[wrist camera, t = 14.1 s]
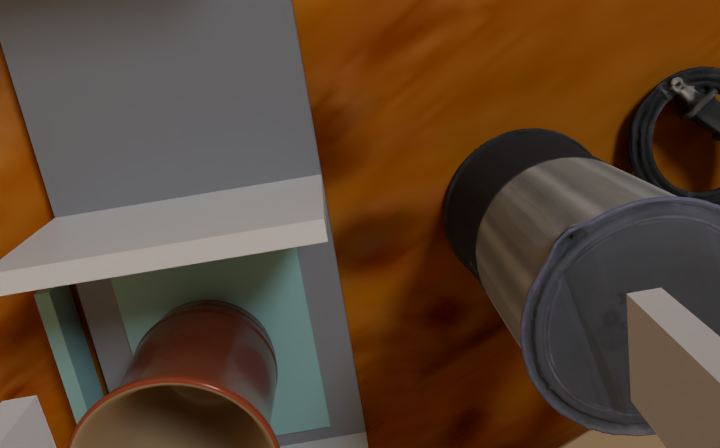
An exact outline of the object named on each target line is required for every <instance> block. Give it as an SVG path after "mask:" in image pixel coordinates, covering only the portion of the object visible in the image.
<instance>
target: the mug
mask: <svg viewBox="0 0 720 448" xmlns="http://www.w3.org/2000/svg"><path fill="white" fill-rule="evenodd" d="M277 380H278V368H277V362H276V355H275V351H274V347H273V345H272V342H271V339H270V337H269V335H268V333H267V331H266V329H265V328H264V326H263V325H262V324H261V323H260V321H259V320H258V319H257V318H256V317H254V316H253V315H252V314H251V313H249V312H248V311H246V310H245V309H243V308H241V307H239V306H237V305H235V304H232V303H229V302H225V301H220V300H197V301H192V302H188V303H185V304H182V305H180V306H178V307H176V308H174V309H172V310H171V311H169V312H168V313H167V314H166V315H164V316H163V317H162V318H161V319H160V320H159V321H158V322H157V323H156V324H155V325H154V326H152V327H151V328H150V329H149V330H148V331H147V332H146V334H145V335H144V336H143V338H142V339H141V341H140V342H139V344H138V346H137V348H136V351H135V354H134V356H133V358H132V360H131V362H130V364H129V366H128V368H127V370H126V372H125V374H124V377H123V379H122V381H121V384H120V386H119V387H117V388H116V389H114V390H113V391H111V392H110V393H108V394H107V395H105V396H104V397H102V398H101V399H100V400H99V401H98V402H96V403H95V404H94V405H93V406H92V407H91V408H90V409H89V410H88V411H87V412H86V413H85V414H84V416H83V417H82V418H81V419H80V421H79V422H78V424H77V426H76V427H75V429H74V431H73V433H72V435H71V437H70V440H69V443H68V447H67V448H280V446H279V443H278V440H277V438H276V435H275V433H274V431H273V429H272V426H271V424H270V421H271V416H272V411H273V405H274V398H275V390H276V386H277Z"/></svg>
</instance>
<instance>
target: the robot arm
mask: <svg viewBox="0 0 720 448" xmlns="http://www.w3.org/2000/svg"><path fill="white" fill-rule="evenodd" d="M626 298H627V322H628V346H629V369H630V393H631V402H632V403H633V404H634V406H635V407H636V408H637V410H638V411H639V412H640V413H641V415H642V416H643V417H644V419H645V420H646V421H647V423H648V424H649V425H650V426H651V428H652V429H653V430H654V432H655V433H656V434H657V436H658V437H659V438H660V439H661V441H662V442H663V443H664V445H665V446H666V447H667V448H720V336H719V335H717V334H716V333H715V332H714V331H713V330H711V329H710V328H709V327H708V326H707V325H705V324H704V323H703V322H702V321H701V320H699V319H698V318H697V317H696V316H695V315H693V314H692V313H691V312H690V311H689V310H687V309H686V308H685V307H684V306H683V305H681V304H680V303H679V302H678V301H677V300H676V299H674V298H673V297H672V296H671V295H670V294H668V293H667V292H666V291H665V290H664V289H662V288H655V289H649V290H644V291H638V292H632V293H626ZM0 448H56V445H55V442H54V440H53V437H52V435H51V432H50V429H49V427H48V424H47V421H46V419H45V416H44V414H43V411H42V408H41V406H40V403H39V400H38V398H37V395H35V396H29V397H23V398H17V399H12V400H6V401H2V402H1V403H0Z"/></svg>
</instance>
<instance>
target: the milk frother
mask: <svg viewBox="0 0 720 448" xmlns="http://www.w3.org/2000/svg"><path fill="white" fill-rule="evenodd" d="M717 93H718V94H720V68H715V67H696V68H690V69H686V70H683V71H680V72H678V73H675V74H673V75H671V76H669V77H668V78H666V79H665V80H663V81H661V82H660V83H659V84H658V85H656V86H655V88H654V89H653V90H652V91H651V92H650V93H649V94H648V95H647V96H646V97H645V98H644V100H643V101H642V102H641V104H640V105H639V107H638V108H637V110H636V112H635V113H634V115H633V117H632V120H631V122H630V125H629V132H628V138H627V145H628V147H627V151H628V154H629V158H630V163H631V167H632V169H633V172H634V174H635V176H636V177H635V176H633V175H631V174H629V173H627V172H625V171H622V170H620V169H618V168H616V167H614V166H612V165H610V164H608V163H606V162H603V161H601V160H600V159H598V158H596V157H594V156H592V155H591V154H590V153H589V152H588V151H587V150H586V149H585V148H584V147H583V146H582V145H581V144H579V143H578V142H576V141H575V140H573V139H571V138H569V137H567V136H565V135H564V134H561V133H558V132H556V131H551V130H545V129H520V130H514V131H510V132H507V133H504V134H501V135H499V136H497V137H495V138H493V139H491V140H489V141H487V142H486V143H484V144H483V145H481V146H480V147H479V148H478V149H476V150H475V151H474V152H473V153H472V154H470V155H469V156H468V157H467V159H466V160H465V161H464V162H463V164H462V165H461V166H460V167H459V169H458V171H457V172H456V174H455V175H454V178H453V180H452V182H451V184H450V187H449V190H448V192H447V196H446V201H445V208H444V224H445V228H446V233H447V237H448V240H449V243H450V245H451V247H452V249H453V251H454V253H455V255H456V256H457V257H458V259H459V260H460V261H461V262H462V263H463V264H464V265H465V267H466V268H467V269H468V270H470V271H471V272H472V273H473V274H474V276H475V277H476V278H477V279H478V280H479V282H480V284H481V285H482V287H483V289H484V290H485V291H486V293H487V295H488V296H489V298H490V300H491V302H492V303H493V305H494V307H495V308H496V310H497V312H498V313H499V315H500V316H501V318H502V320H503V321H504V323H505V325H506V326H507V328H508V329H509V331H510V333H511V334H512V336H513V337H514V339H515V341H516V342H517V344H518V345H519V347H520V348H521V352H522V357H523V361H524V364H525V367H526V370H527V374H528V376H529V378H530V380H531V382H532V383H533V385H534V386H535V387H536V389H537V390H538V392H539V393H540V394H541V395H542V397H543V398H544V399H545V401H546V402H547V403H548V404H549V405H550V406H551V407H552V408H554V409H555V410H556V411H557V412H559V413H560V414H561V415H563V416H564V417H566V418H567V419H569V420H571V421H573V422H575V423H576V424H579V425H582V426H583V427H585V428H586V429H589V430H596V431H599V432H602V433H608V434H612V435H629V436H644V435H654V434H656V433H655V432H654V430H653V429H652V428H651V426H650V425H649V424H648V423H647V421H646V420H645V419H644V417H643V416H642V415H641V413H640V412H639V411H638V410H637V408H636V407H635V406H634V404H633V403H632V402H631V393H630V369H629V346H628V322H627V298H626V293H632V292H638V291H644V290H649V289H655V288H662V289H664V290H665V291H666V292H667V293H668V294H670V295H671V296H672V297H673V298H674V299H676V300H677V301H678V302H679V303H680V304H681V305H683V306H684V307H685V308H686V309H687V310H689V311H690V312H691V313H692V314H693V315H695V316H696V317H697V318H698V319H699V320H701V321H702V322H703V323H704V324H705V325H707V326H708V327H709V328H710V329H711V330H713V331H714V332H715V333H716V334H717V335H719V336H720V187H719V188H717V189H714V190H709V191H704V192H690V191H684V190H682V189H679V188H677V187H675V186H673V185H672V184H671V183H670V182H668V181H667V180H666V179H665V178H664V176H663V175H662V174H661V173H660V171H659V170H658V167H657V165H656V163H655V160H654V156H653V151H652V137H653V130H654V125H655V122H656V120H657V118H658V116H659V114H660V112H661V111H662V109H663V108H664V106H665V105H666V104H667V103H668V102H669V101H670V100H671V99H673V98H678V99H681V100H684V101H686V102H687V107H686V108H685V109H684V110H683V111H682V112H681V113H680V114H679V118H680V119H687V120H688V119H690V120H692V121H693V122H694V123H696V124H697V125H699V126H701V127H702V128H703V129H705V130H707V131H709V132H711V133H712V135H713V139H714V140H717V141H720V102H719V101H718V100H717V99H716V98H715V95H716V94H717Z"/></svg>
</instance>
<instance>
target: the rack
mask: <svg viewBox="0 0 720 448" xmlns="http://www.w3.org/2000/svg"><path fill="white" fill-rule="evenodd" d="M0 42H1V46H2V49H3V52H4V55H5V59H6V62H7V65H8V68H9V72H10V75H11V78H12V81H13V84H14V88H15V91H16V94H17V97H18V101H19V104H20V107H21V110H22V113H23V117H24V120H25V123H26V126H27V130H28V133H29V136H30V139H31V142H32V146H33V149H34V152H35V155H36V159H37V162H38V165H39V168H40V171H41V175H42V178H43V181H44V184H45V188H46V191H47V194H48V197H49V200H50V204H51V207H52V210H53V213H54V217H55V218H54V219H53V220H51V221H50V222H49V223H48V224H46V225H45V226H44V227H42V228H41V229H40V230H38V231H37V232H36V233H34V234H33V235H32V236H31V237H29V238H28V239H27V240H25V241H24V242H23V243H21V244H20V245H19V246H17V247H16V248H15V249H14V250H12V251H11V252H10V253H8V254H7V255H6V256H4V257H3V258H2V259H0V296H3V295H9V294H15V293H21V292H27V291H33V290H38V291H37V292H36V293H35V294H34V298H35V301H36V304H37V307H38V310H39V313H40V316H41V319H42V322H43V325H44V328H45V331H46V334H47V337H48V340H49V343H50V346H51V349H52V352H53V355H54V358H55V361H56V364H57V367H58V370H59V373H60V376H61V379H62V382H63V385H64V388H65V391H66V394H67V397H68V400H69V403H70V406H71V409H72V412H73V415H74V418H75V421H76V424H78V422H79V421H80V419H81V418H82V417H83V416H84V414H85V413H86V412H87V411H88V410H89V409H90V408H91V407H92V406H93V405H94V404H95V403H96V402H98V401H99V400H100V399H101V398H102V397H104V395H103V392H102V389H101V385H100V382H99V379H98V376H97V373H96V369H95V366H94V363H93V360H92V357H91V353H90V350H89V347H88V344H87V341H86V338H85V334H84V331H83V328H82V325H81V322H80V318H79V315H78V312H77V309H76V306H75V302H74V299H73V296H72V293H71V290H70V286H69V285H70V284H76V288H77V291H78V294H79V297H80V300H81V304H82V307H83V310H84V313H85V317H86V320H87V323H88V326H89V329H90V333H91V336H92V339H93V342H94V346H95V349H96V352H97V355H98V358H99V362H100V365H101V368H102V371H103V375H104V378H105V381H106V384H107V387H108V391H109V393H110V392H111V391H113V390H114V389H116V388H117V387H119V386H120V384H121V381H122V379H123V377H124V374H125V372H126V370H127V368H128V366H129V364H130V362H131V360H132V358H133V356H134V354H135V351H136V348H137V346H138V344H139V342H140V341H141V339H142V338H143V336H144V335H145V334H146V332H147V331H148V330H149V329H150V328H151V327H152V326H154V325H155V324H156V323H157V322H158V321H159V320H160V319H161V318H162V317H163V316H164V315H166V314H167V313H168V312H169V311H171V310H172V309H174V308H176V307H178V306H180V305H182V304H185V303H188V302H192V301H197V300H220V301H225V302H229V303H232V304H235V305H237V306H239V307H241V308H243V309H245V310H246V311H248V312H249V313H251V314H252V315H253V316H254V317H256V318H257V319H258V320H259V321H260V323H261V324H262V325H263V326H264V328H265V329H266V331H267V333H268V335H269V337H270V339H271V342H272V345H273V347H274V351H275V355H276V362H277V368H278V380H277V386H276V390H275V398H274V405H273V411H272V416H271V421H270V424H271V426H272V429H273V431H274V433H275V435H276V438H277V440H278V443H279V446H280V448H369V447H368V439H367V432H366V427H365V421H364V415H363V409H362V404H361V398H360V392H359V386H358V380H357V375H356V369H355V363H354V357H353V352H352V346H351V340H350V334H349V328H348V323H347V317H346V311H345V305H344V299H343V294H342V288H341V282H340V276H339V271H338V265H337V259H336V253H335V247H334V242H333V236H332V230H331V224H330V218H329V213H328V207H327V201H326V195H325V190H324V184H323V178H322V172H321V166H320V161H319V155H318V149H317V143H316V137H315V132H314V126H313V120H312V114H311V109H310V103H309V97H308V91H307V85H306V80H305V74H304V68H303V62H302V57H301V51H300V45H299V39H298V33H297V28H296V22H295V16H294V10H293V4H292V0H0Z"/></svg>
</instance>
